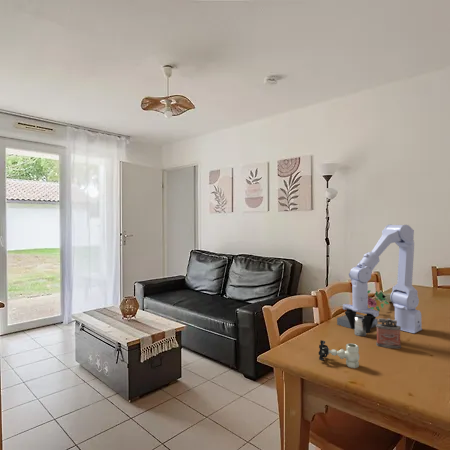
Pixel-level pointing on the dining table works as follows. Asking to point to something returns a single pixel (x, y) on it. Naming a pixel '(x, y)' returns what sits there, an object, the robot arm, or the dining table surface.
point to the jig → (345, 322)
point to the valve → (342, 353)
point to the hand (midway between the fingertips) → (360, 330)
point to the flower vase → (380, 297)
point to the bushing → (359, 325)
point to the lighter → (388, 333)
